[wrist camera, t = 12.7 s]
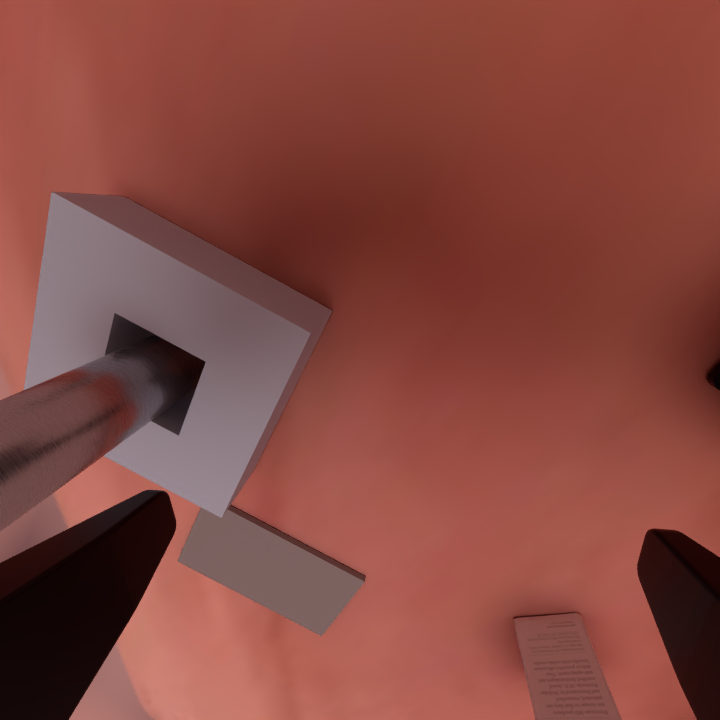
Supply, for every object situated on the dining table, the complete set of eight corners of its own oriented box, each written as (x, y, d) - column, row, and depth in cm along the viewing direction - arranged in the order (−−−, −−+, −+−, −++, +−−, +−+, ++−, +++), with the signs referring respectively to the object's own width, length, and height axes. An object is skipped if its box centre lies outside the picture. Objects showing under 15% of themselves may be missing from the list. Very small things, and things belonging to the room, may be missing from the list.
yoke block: (332, 310, 19) (310, 332, 16) (252, 471, 24) (221, 518, 20) (123, 196, 19) (51, 191, 15) (83, 381, 24) (20, 412, 20)
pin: (235, 360, 21) (12, 527, 10) (194, 387, 23) (-51, 565, 11) (197, 310, 21) (-92, 426, 9) (157, 340, 22) (-147, 477, 10)
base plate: (365, 576, 26) (364, 581, 25) (322, 630, 28) (321, 636, 28) (208, 493, 25) (205, 497, 25) (180, 556, 28) (177, 561, 28)
